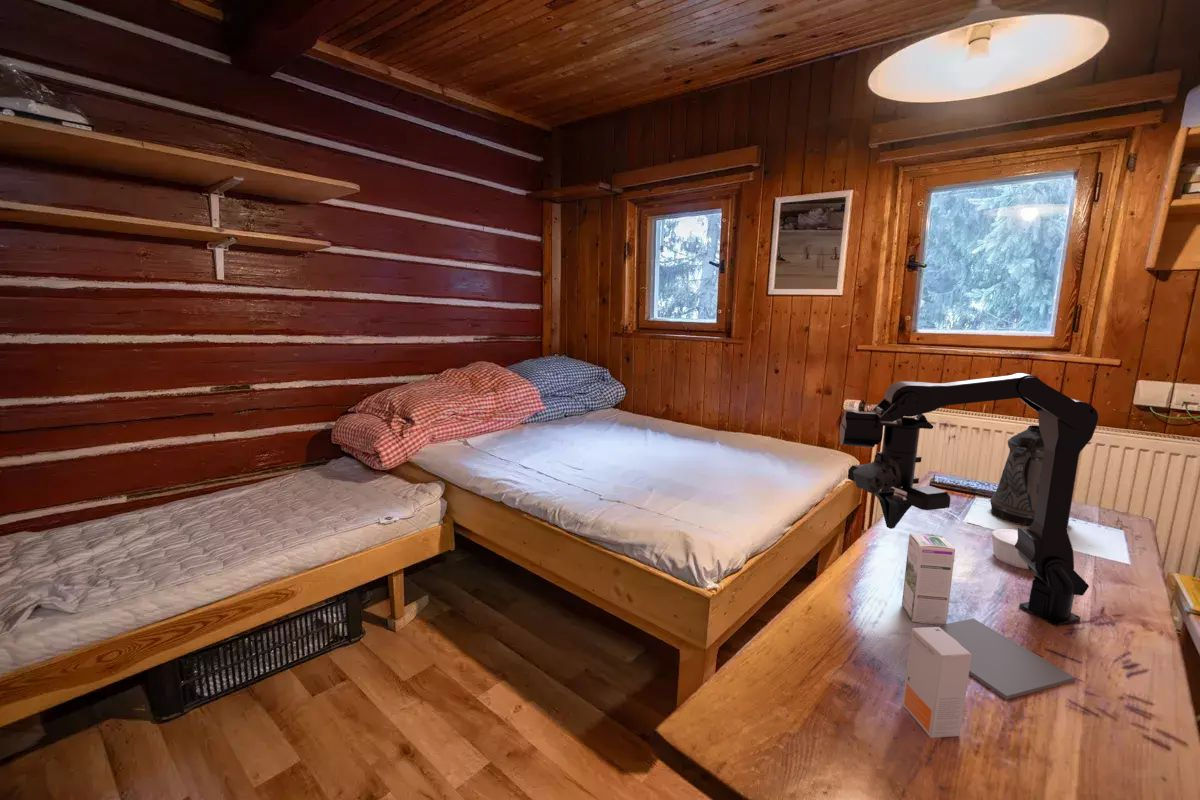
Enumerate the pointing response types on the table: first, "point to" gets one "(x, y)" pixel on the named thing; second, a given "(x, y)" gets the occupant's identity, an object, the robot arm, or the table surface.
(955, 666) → the skincare box
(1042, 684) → the mat
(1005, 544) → the ramekin
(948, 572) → the syrup box
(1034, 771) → the table surface
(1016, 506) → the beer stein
